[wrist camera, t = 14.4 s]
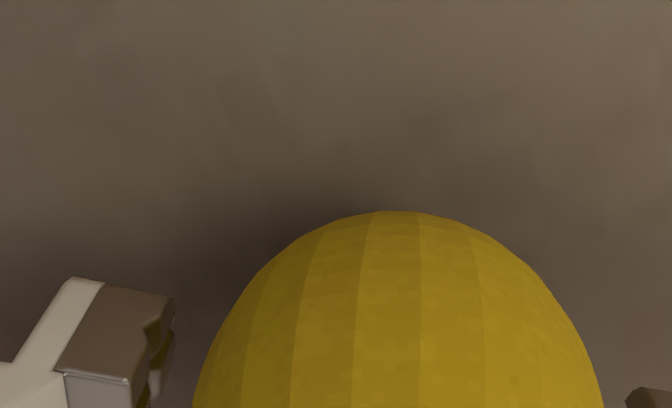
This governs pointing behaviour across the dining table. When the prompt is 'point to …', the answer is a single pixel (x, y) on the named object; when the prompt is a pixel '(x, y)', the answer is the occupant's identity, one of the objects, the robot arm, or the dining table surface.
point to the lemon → (397, 325)
